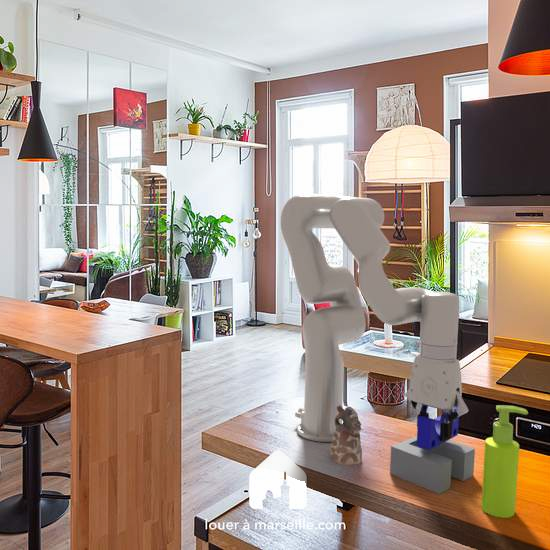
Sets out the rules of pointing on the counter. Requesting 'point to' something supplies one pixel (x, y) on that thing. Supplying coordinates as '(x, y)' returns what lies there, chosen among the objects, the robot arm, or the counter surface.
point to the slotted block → (432, 463)
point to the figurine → (346, 438)
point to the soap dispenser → (501, 466)
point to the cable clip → (432, 431)
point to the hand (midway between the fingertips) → (433, 435)
